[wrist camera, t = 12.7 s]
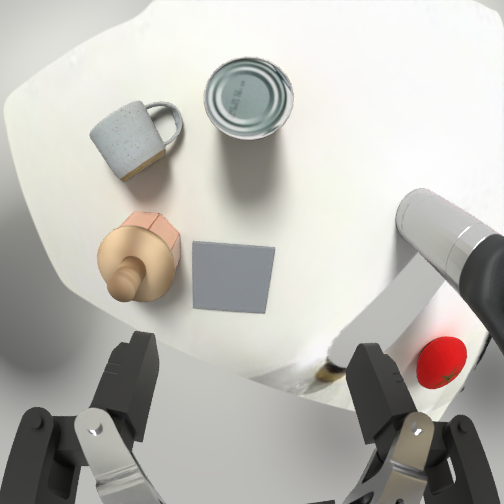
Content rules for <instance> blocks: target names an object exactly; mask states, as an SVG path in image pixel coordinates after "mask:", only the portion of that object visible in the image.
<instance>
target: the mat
mask: <svg viewBox="0 0 504 504" xmlns="http://www.w3.org/2000/svg"><path fill="white" fill-rule="evenodd" d="M274 253H275V247H264V246H251V245H239V244H226V243H213V242H200V241H193V244H192V278H193V308H201V309H212V310H225V311H239V312H255V313H265V309H266V303H267V297H268V291H269V285H270V278H271V272H272V266H273V259H274Z"/></svg>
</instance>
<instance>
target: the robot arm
mask: <svg viewBox="0 0 504 504" xmlns="http://www.w3.org/2000/svg"><path fill="white" fill-rule="evenodd" d="M396 224H397V229H398V231H399V233H400V234H401V236H402V237H403V238H404V239H405V240H406V241H407V242H409V243H410V244H411V245H412V246H413V247H414V248H415V249H416V250H417V251H418V252H419V253H420V254H421V255H422V256H423V257H424V258H425V259H426V260H427V261H428V262H429V263H430V264H431V265H432V266H433V267H434V268H435V269H436V270H437V271H438V272H439V273H440V274H441V276H442V277H443V278H444V279H445V280H446V281H447V282H448V283H449V284H450V285H451V286H452V287H453V288H454V289H455V291H456V292H457V293H458V294H459V295H460V296H461V297H462V298H463V300H464V301H465V302H466V303H467V304H468V305H469V307H470V308H471V309H472V311H473V312H474V313H475V314H476V316H477V317H478V318H479V319H480V321H481V322H482V323H483V325H484V326H485V327H486V329H487V330H488V332H489V333H490V334H491V336H492V338H493V339H494V341H495V342H496V344H497V345H498V347H499V349H500V350H501V352H502V353H503V355H504V237H503V236H502V235H501V234H499V233H498V232H496V231H495V230H493V229H492V228H491V227H489V226H488V225H486V224H484V223H483V222H481V221H480V220H478V219H477V218H475V217H474V216H472V215H471V214H469V213H468V212H466V211H464V210H463V209H461V208H459V207H458V206H456V205H454V204H453V203H451V202H449V201H448V200H446V199H444V198H443V197H441V196H439V195H437V194H436V193H434V192H432V191H430V190H428V189H416V190H414V191H412V192H410V193H409V194H408V195H407V196H406V197H405V198H404V199H403V200H402V202H401V204H400V206H399V208H398V211H397V216H396ZM158 372H159V356H158V350H157V345H156V339H155V335H154V333H147V332H140V331H135V332H134V333H133V336H132V338H131V340H130V343H123V342H121V343H120V344H119V345H118V346H117V347H116V348H115V349H114V350H113V351H112V353H111V355H110V358H109V361H108V364H107V365H106V367H105V370H104V372H103V375H102V377H101V380H100V382H99V385H98V388H97V390H96V393H95V396H94V398H93V401H92V403H91V405H90V407H89V408H88V409H85V410H84V411H82V412H81V413H79V414H78V415H77V416H52V415H51V414H50V413H49V412H48V411H47V410H46V409H44V408H40V407H34V408H31V409H29V410H28V411H26V412H25V413H24V415H23V417H22V419H21V422H20V425H19V427H18V430H17V433H16V436H15V439H14V442H13V445H12V448H11V452H10V455H9V458H8V462H7V466H6V469H5V473H4V477H3V481H2V485H1V490H0V504H75V498H76V492H77V485H78V480H79V475H80V470H81V466H90V468H91V470H92V472H93V475H94V477H95V479H96V482H97V483H96V489H97V492H98V494H99V496H100V498H101V500H102V501H103V503H104V504H166V503H165V502H164V500H163V499H162V498H161V496H160V495H159V493H158V492H157V491H156V489H155V488H154V486H153V485H152V483H151V482H150V480H149V479H148V477H147V476H146V474H145V473H144V471H143V469H142V468H141V466H140V464H139V462H138V461H137V459H136V457H135V455H134V454H133V452H132V448H133V443H134V441H138V442H143V438H144V433H145V428H146V423H147V419H148V415H149V410H150V406H151V401H152V397H153V393H154V389H155V384H156V381H157V377H158ZM346 381H347V384H348V387H349V390H350V394H351V397H352V400H353V404H354V407H355V410H356V413H357V417H358V420H359V424H360V427H361V431H362V434H363V438H364V441H365V444H372V443H375V444H376V448H375V449H374V452H373V453H372V456H371V458H370V460H369V462H368V464H367V466H366V468H365V470H364V472H363V474H362V476H361V478H360V480H359V482H358V483H357V485H356V487H355V488H354V489H353V490H352V491H351V492H350V494H349V495H348V496H347V497H346V499H345V500H344V502H343V504H420V501H421V498H422V496H424V500H425V504H500V500H499V497H498V493H497V489H496V486H495V482H494V479H493V476H492V472H491V469H490V467H489V463H488V461H487V458H486V455H485V452H484V450H483V447H482V444H481V441H480V439H479V437H478V434H477V431H476V429H475V427H474V424H473V422H472V421H471V420H470V418H468V417H467V416H465V415H457V416H455V417H454V418H453V419H452V420H451V421H450V422H435V421H432V420H431V418H430V417H429V416H428V415H426V414H424V413H422V412H418V411H417V409H416V407H415V404H414V402H413V400H412V397H411V395H410V393H409V391H408V389H407V386H406V384H405V382H403V381H404V380H403V378H402V376H401V374H400V371H399V369H398V367H397V365H396V363H395V362H394V361H393V360H392V359H391V358H390V357H389V356H388V355H387V354H383V352H382V350H381V348H380V346H379V344H378V343H362V344H359V345H358V346H357V348H356V350H355V352H354V355H353V357H352V359H351V361H350V363H349V365H348V367H347V370H346ZM449 457H450V458H451V461H452V465H453V468H454V471H455V475H456V481H455V484H454V482H453V478H452V475H451V471H450V468H449V465H448V461H447V459H448V458H449ZM310 504H335V501H334V500H330V501H323V502H317V503H310Z"/></svg>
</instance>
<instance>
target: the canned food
mask: <svg viewBox="0 0 504 504" xmlns="http://www.w3.org/2000/svg"><path fill="white" fill-rule="evenodd" d="M293 101H294V93H293V89H292V84H291V83H290V81H289V79H288V77H287V75H286V74H285V73H284V72H283V71H282V70H281V69H280V68H279V67H278V66H277V65H275V64H273V63H272V62H270V61H268V60H265V59H262V58H259V57H240V58H235V59H232V60H230V61H228V62H226V63H224V64H222V65H221V66H220V67H219V68H217V69H216V70H215V71H214V72H213V74H212V75H211V77H210V78H209V79H208V81H207V84H206V87H205V90H204V106H205V110H206V113H207V115H208V117H209V119H210V120H211V122H212V123H213V124H214V125H215V126H216V127H217V128H218V129H219V130H220V131H221V132H223V133H225V134H227V135H228V136H230V137H234V138H237V139H241V140H255V139H260V138H264V137H266V136H269V135H271V134H273V133H275V132H276V131H277V130H278V129H279V128H281V127H282V126H283V125H284V124H285V122H286V121H287V119H288V118H289V116H290V114H291V111H292V108H293Z"/></svg>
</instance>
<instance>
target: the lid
mask: <svg viewBox="0 0 504 504" xmlns="http://www.w3.org/2000/svg"><path fill="white" fill-rule="evenodd" d="M97 262H98V267H99V271H100V273H101V275H102V277H103V279H104V280H105V282H106V283H107V289H108V292H109V293H110V295H111V296H112V297H113V298H114V299H116V300H118V301H120V302H129V301H131V300H133V301H138V302H148V301H153V300H156V299H158V298H160V297H162V296H163V295H164V294H165V293H166V292H167V291H168V290H169V288H170V286H171V284H172V282H173V279H174V276H175V261H174V257H173V254H172V252H171V250H170V248H169V247H168V245H167V244H166V243H165V242H164V240H163V239H162V238H161V237H159V236H158V235H157V234H155V233H154V232H152V231H151V230H149V229H146V228H144V227H140V226H134V225H127V226H122V227H118V228H116V229H114V230H113V231H112V232H110V233H109V234H108V235H107V236H106V237H105V238H104V240H103V241H102V242H101V244H100V246H99V249H98V254H97Z"/></svg>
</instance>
